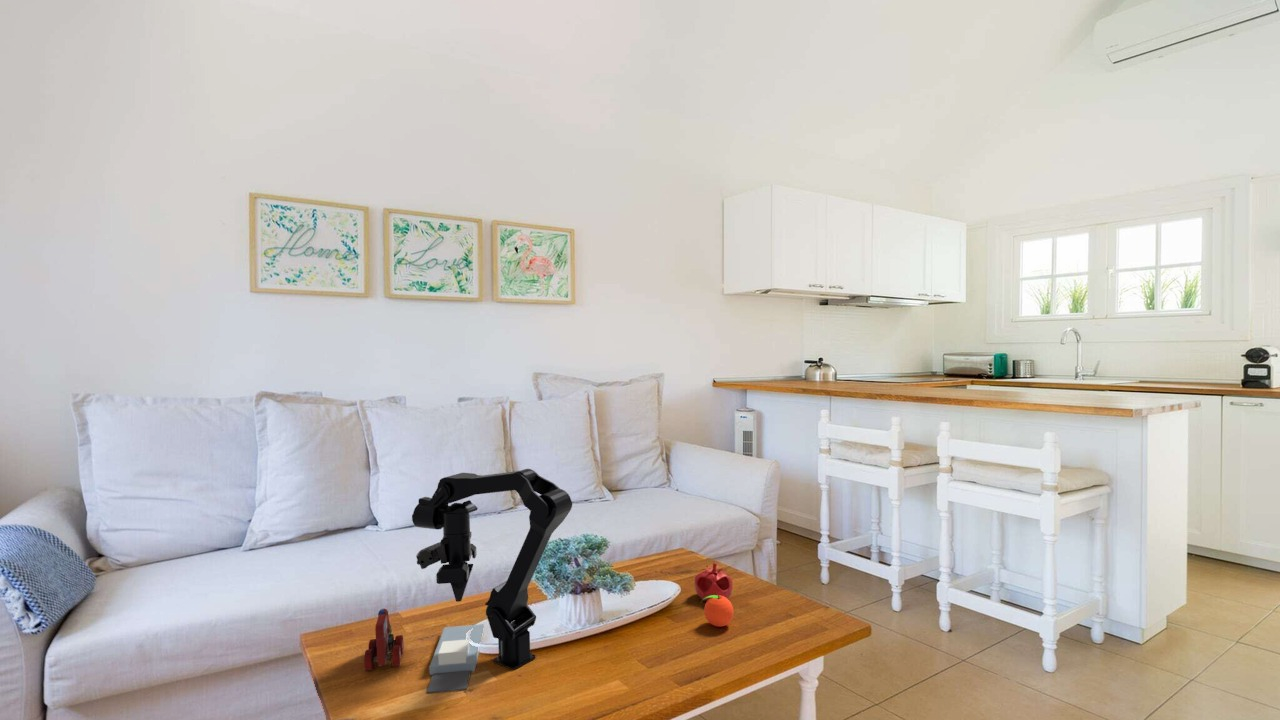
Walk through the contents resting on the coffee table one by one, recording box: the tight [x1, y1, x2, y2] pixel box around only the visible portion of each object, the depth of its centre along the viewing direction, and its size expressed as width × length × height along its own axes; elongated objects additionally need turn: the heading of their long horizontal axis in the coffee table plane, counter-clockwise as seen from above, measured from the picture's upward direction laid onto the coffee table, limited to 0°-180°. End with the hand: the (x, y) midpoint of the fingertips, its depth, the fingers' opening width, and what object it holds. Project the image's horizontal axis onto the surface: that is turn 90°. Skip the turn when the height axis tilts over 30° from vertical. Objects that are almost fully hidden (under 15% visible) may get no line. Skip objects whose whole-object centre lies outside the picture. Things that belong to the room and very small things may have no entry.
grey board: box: [428, 623, 485, 676], centre depth 140 cm, size 19×9×2 cm, turn 8°
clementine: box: [701, 595, 735, 628], centre depth 150 cm, size 8×7×7 cm
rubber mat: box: [426, 670, 472, 694], centre depth 127 cm, size 7×8×1 cm
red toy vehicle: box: [363, 608, 405, 671], centre depth 136 cm, size 7×12×10 cm, turn 15°
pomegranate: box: [693, 562, 734, 602], centre depth 167 cm, size 10×10×9 cm
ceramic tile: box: [438, 639, 469, 665], centre depth 133 cm, size 6×6×2 cm
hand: (458, 600), depth 141 cm, fingers closed
